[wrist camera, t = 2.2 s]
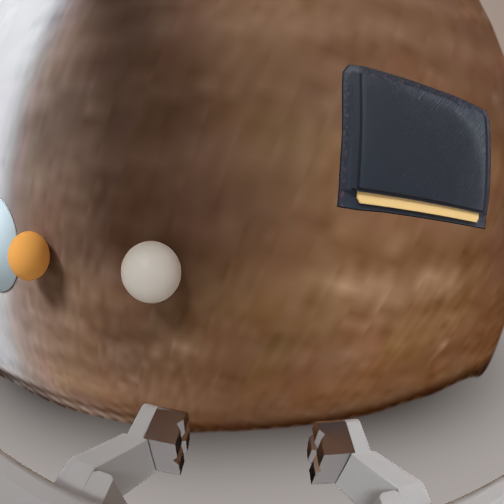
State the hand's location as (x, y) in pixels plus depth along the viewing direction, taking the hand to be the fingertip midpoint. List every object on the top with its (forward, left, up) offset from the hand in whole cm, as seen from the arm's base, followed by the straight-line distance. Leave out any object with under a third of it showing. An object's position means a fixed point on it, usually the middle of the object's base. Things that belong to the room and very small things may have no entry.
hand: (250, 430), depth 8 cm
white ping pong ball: (-7, -7, -16) cm, 19 cm away
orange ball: (-18, -18, -16) cm, 30 cm away
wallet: (+2, +22, -20) cm, 29 cm away
